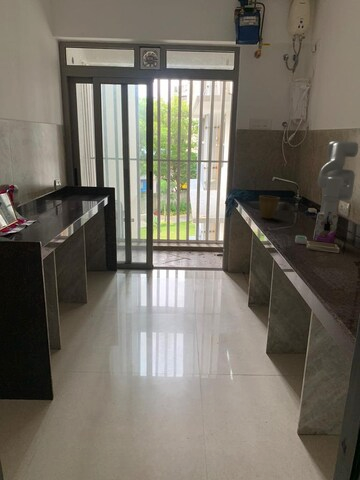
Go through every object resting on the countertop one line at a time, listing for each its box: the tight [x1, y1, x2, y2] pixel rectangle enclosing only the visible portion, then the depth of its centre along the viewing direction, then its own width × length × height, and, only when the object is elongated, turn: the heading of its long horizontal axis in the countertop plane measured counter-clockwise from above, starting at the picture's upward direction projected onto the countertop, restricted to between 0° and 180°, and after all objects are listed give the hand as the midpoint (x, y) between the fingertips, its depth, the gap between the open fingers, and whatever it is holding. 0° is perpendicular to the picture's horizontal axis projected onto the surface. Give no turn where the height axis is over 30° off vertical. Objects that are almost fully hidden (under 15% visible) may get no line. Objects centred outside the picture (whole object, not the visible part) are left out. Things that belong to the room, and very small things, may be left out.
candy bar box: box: [313, 212, 340, 244], centre depth 207 cm, size 11×5×16 cm, turn 74°
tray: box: [305, 240, 340, 254], centre depth 194 cm, size 10×16×2 cm, turn 76°
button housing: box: [294, 235, 308, 245], centre depth 204 cm, size 6×6×3 cm
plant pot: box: [258, 194, 280, 219], centre depth 267 cm, size 15×15×16 cm
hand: (325, 228), depth 207 cm, fingers open, 8 cm apart
